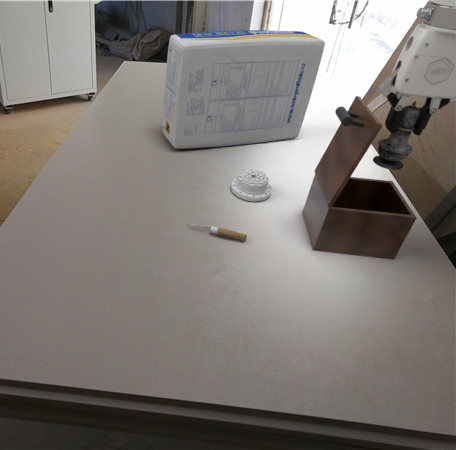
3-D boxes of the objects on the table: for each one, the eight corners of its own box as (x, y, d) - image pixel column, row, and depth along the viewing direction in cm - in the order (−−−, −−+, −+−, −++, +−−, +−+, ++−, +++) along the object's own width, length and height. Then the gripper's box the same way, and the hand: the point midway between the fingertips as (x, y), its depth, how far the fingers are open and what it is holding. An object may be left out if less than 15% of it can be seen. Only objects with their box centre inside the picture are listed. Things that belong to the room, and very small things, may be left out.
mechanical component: (246, 176, 108) (222, 189, 102) (249, 162, 105) (225, 174, 99) (278, 192, 102) (254, 207, 96) (282, 177, 99) (258, 191, 94)
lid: (360, 96, 78) (336, 90, 78) (382, 125, 67) (355, 118, 67) (317, 172, 89) (296, 166, 89) (331, 207, 78) (307, 200, 78)
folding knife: (183, 229, 88) (184, 222, 87) (185, 225, 90) (185, 218, 88) (245, 244, 85) (246, 237, 84) (246, 239, 87) (247, 232, 85)
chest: (373, 220, 95) (392, 181, 88) (394, 259, 84) (417, 217, 77) (302, 212, 96) (315, 173, 89) (312, 250, 85) (328, 208, 78)
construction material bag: (280, 124, 136) (305, 27, 118) (300, 139, 127) (329, 37, 109) (160, 136, 124) (166, 31, 106) (172, 153, 116) (181, 42, 98)
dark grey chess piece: (399, 174, 73) (429, 110, 66) (366, 162, 76) (392, 100, 69) (408, 163, 77) (438, 101, 69) (377, 152, 80) (402, 92, 72)
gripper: (405, 19, 59) (360, 136, 70) (524, 28, 58) (459, 144, 69) (388, 10, 65) (349, 118, 76) (495, 17, 64) (440, 126, 75)
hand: (402, 130), depth 72 cm, fingers closed on dark grey chess piece, 3 cm apart
